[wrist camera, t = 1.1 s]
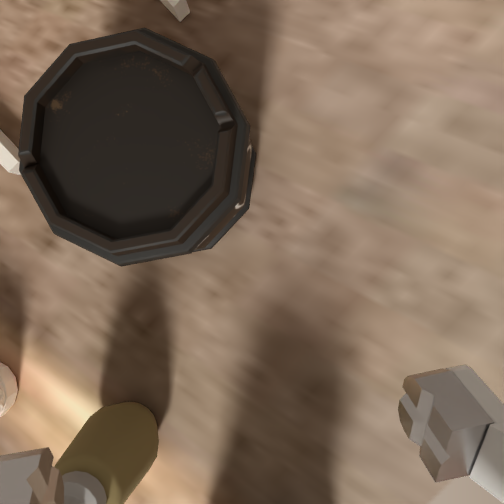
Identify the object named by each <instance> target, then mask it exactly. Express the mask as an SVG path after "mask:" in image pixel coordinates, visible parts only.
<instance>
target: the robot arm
mask: <svg viewBox="0 0 504 504" xmlns="http://www.w3.org/2000/svg"><path fill="white" fill-rule="evenodd" d="M403 389H404V390H405V392H406V394H405V395H404V396H403V397H402V398H401V399H400V401H399V407H398V412H399V417H400V422H401V424H402V427H403V429H404V431H405V433H406V435H407V436H408V438H409V439H410V440H411V441H413V442H414V443H416V444H418V445H419V446H420V454H419V456H420V458H421V460H422V461H423V463H424V465H425V466H426V468H427V469H428V471H429V473H430V474H431V476H432V478H433V479H434V481H435V482H440V481H445V480H450V479H454V478H459V477H464V476H468V475H470V477H469V478H471V479H472V480H473V481H475V482H476V483H477V484H479V485H480V486H481V487H483V488H484V489H485V490H486V491H488V492H489V493H490V494H492V495H493V496H494V497H496V498H497V499H498V500H500V501H501V502H502V503H504V404H503V403H502V402H501V400H500V399H499V398H498V397H497V396H496V395H495V394H494V393H493V392H492V390H491V389H490V388H489V387H488V386H487V385H486V384H485V383H484V382H483V380H482V379H481V378H480V377H479V376H478V375H477V374H476V373H475V372H474V370H473V369H472V368H471V367H469V366H467V365H460V366H455V367H450V368H446V369H438V370H433V371H429V372H424V373H419V374H414V375H410V376H407V377H406V378H405V379H404V383H403ZM52 462H53V455H52V453H51V451H50V449H49V447H48V448H42V449H36V450H30V451H24V452H18V453H12V454H7V455H1V456H0V504H64V484H63V479H62V475H61V473H60V470H59V469H57V468H55V467H52Z"/></svg>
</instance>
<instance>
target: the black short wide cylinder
mask: <svg viewBox="0 0 504 504" xmlns="http://www.w3.org/2000/svg"><path fill="white" fill-rule="evenodd" d="M249 133H250V125H249V123H248V121H247V119H246V117H245V116H244V114H243V112H242V110H241V108H240V106H239V104H238V103H237V101H236V99H235V97H234V95H233V93H232V91H231V90H230V88H229V86H228V84H227V82H226V80H225V79H224V77H223V75H222V73H221V71H220V69H219V67H218V66H217V64H216V62H215V61H214V60H213V59H211V58H209V57H207V56H205V55H202V54H200V53H198V52H196V51H194V50H192V49H190V48H187V47H185V46H183V45H181V44H179V43H177V42H175V41H172V40H170V39H168V38H166V37H164V36H162V35H159V34H157V33H155V32H153V31H151V30H149V29H147V28H141V29H137V30H132V31H127V32H123V33H118V34H114V35H109V36H105V37H100V38H95V39H91V40H86V41H82V42H77V43H73V44H69V45H68V46H67V48H66V49H65V50H64V51H63V52H62V53H61V54H60V56H59V57H58V58H57V59H56V60H55V61H54V63H53V64H52V65H51V66H50V67H49V68H48V69H47V71H46V72H45V73H44V74H43V75H42V76H41V77H40V79H39V80H38V81H37V82H36V83H35V84H34V85H33V87H32V88H31V89H30V90H29V91H28V92H27V93H26V95H25V96H24V104H23V114H22V123H21V133H20V142H19V152H18V157H19V159H20V164H19V171H20V173H21V175H22V177H23V179H24V180H25V182H26V184H27V186H28V188H29V190H30V191H31V193H32V195H33V197H34V199H35V200H36V202H37V204H38V206H39V208H40V210H41V211H42V213H43V215H44V217H45V219H46V220H47V222H48V224H49V226H50V228H51V230H52V231H53V233H54V234H55V235H57V236H59V237H61V238H63V239H65V240H67V241H70V242H72V243H74V244H76V245H78V246H80V247H82V248H84V249H86V250H88V251H90V252H92V253H94V254H96V255H98V256H101V257H103V258H105V259H107V260H109V261H111V262H113V263H115V264H117V265H119V266H126V265H131V264H137V263H142V262H147V261H153V260H158V259H163V258H169V257H174V256H180V255H185V254H190V253H192V252H196V251H201V250H206V249H212V247H213V246H214V245H215V244H216V243H217V242H218V241H219V240H220V239H221V238H222V237H223V236H224V235H225V234H226V233H227V232H228V230H229V229H230V228H231V227H232V226H233V225H234V224H235V223H236V222H237V221H238V220H239V219H240V218H241V217H242V216H243V214H244V213H245V212H246V211H247V210H248V209H249V205H250V197H251V189H252V182H253V174H254V166H255V158H256V152H255V150H254V149H253V147H252V143H251V139H250V136H249Z"/></svg>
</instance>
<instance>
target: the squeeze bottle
mask: <svg viewBox="0 0 504 504" xmlns="http://www.w3.org/2000/svg"><path fill="white" fill-rule="evenodd" d="M158 443H159V439H158V429H157V424H156V420H155V417H154V415H153V414H152V413H151V411H150V410H149V409H148V408H147V407H145V406H143V405H142V404H140V403H136V402H129V401H128V402H124V403H119V404H115V405H111V406H107V407H103V408H101V409H100V410H98V411H97V412H96V413H94V414H93V415H92V416H90V418H89V419H88V420H87V422H86V423H85V424H84V426H83V427H82V429H81V430H80V431H79V433H78V434H77V436H76V437H75V438H74V440H73V441H72V443H71V444H70V445H69V447H68V448H67V450H66V451H65V452H64V454H63V455H62V456H61V458H60V459H59V461H58V462H57V463H56V465H55V468H57V469H59V470H60V473H61V475H62V479H63V484H64V504H124V502H125V501H126V500H127V498H128V497H129V496H130V494H131V493H132V492H133V490H134V489H135V488H136V486H137V485H138V484H139V482H140V481H141V480H142V478H143V477H144V476H145V474H146V473H147V472H148V470H149V469H150V467H151V466H152V464H153V462H154V460H155V459H156V457H157V451H158Z"/></svg>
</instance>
